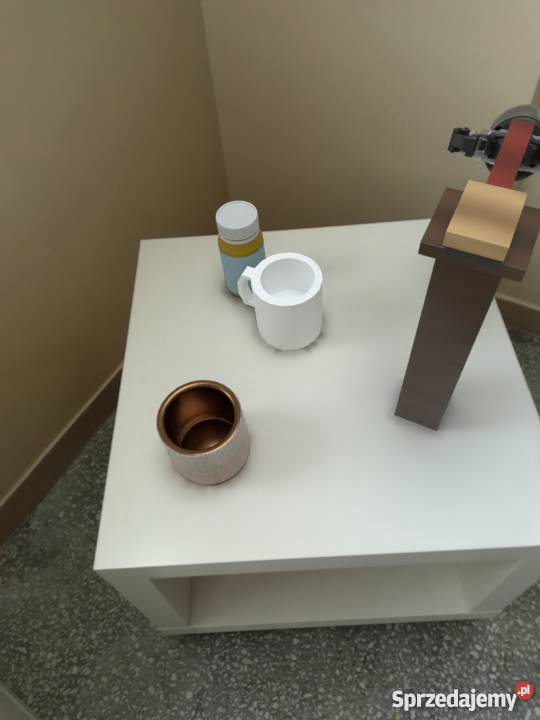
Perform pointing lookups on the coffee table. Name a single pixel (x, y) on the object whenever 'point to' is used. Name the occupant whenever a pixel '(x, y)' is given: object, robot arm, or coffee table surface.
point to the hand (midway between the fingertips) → (512, 155)
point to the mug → (285, 299)
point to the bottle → (239, 241)
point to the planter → (204, 431)
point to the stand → (454, 312)
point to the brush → (490, 206)
